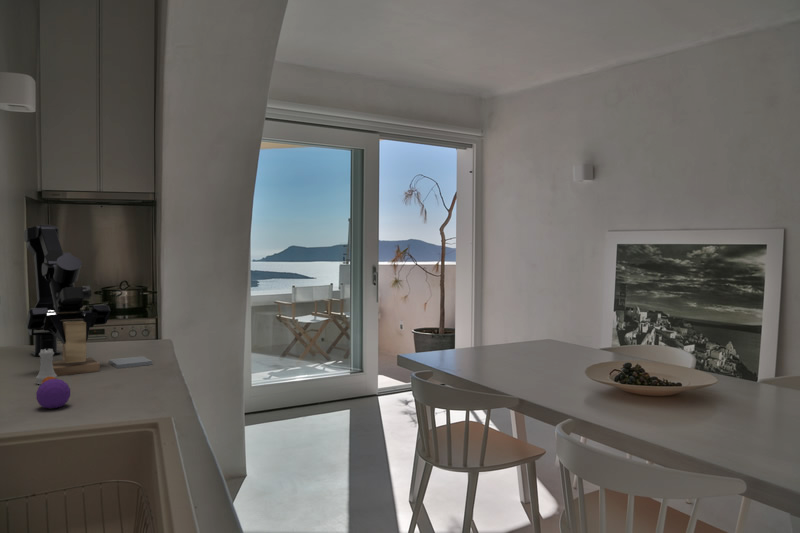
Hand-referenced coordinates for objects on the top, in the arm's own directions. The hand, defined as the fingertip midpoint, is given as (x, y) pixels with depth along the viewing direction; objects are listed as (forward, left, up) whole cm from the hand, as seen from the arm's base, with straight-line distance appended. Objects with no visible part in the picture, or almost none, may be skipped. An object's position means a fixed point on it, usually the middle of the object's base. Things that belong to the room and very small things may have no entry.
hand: (75, 341), depth 148 cm
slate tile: (-5, +14, -8) cm, 17 cm away
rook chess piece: (+8, -8, -8) cm, 14 cm away
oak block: (-1, 0, -5) cm, 5 cm away
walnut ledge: (-4, 0, -8) cm, 9 cm away
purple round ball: (+25, -9, -9) cm, 28 cm away
